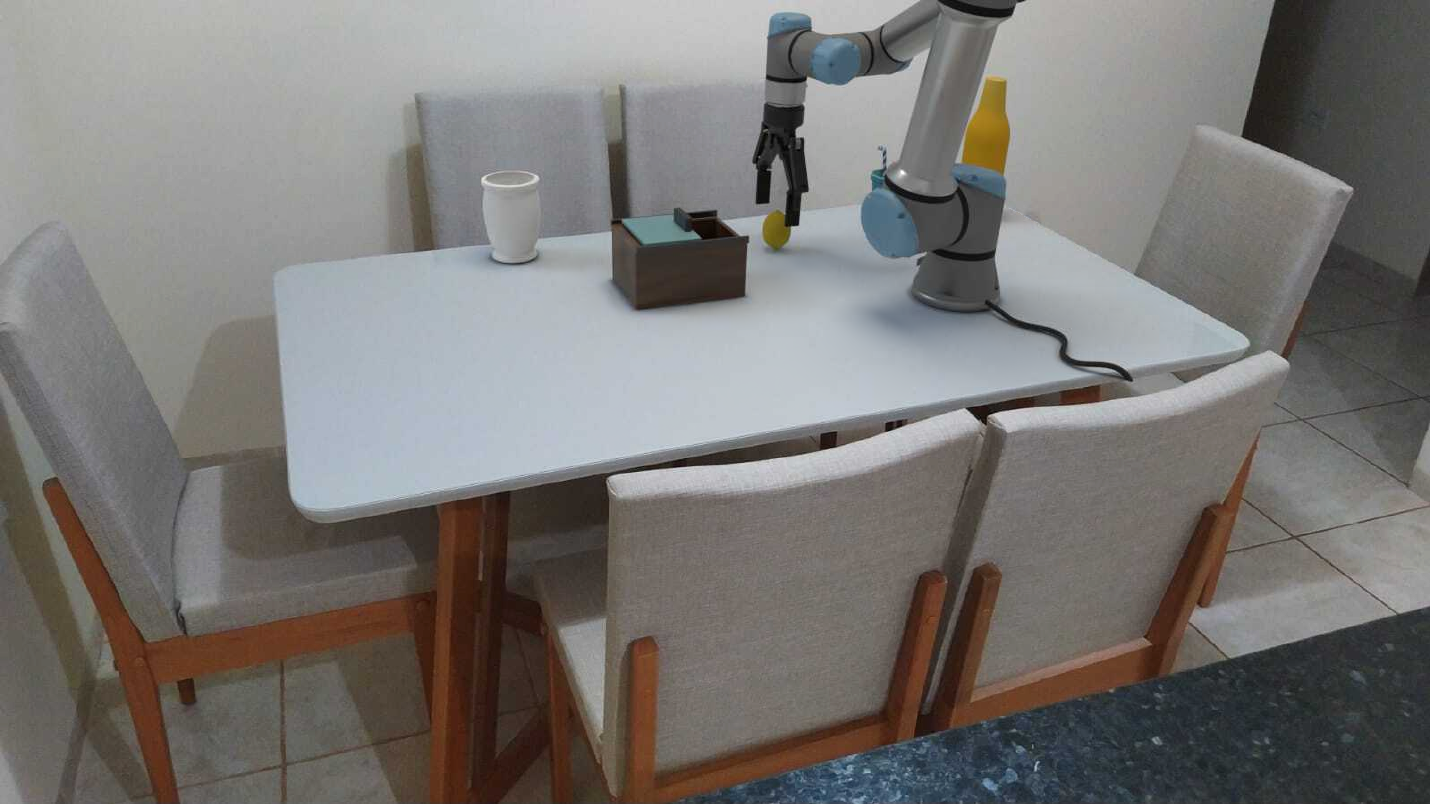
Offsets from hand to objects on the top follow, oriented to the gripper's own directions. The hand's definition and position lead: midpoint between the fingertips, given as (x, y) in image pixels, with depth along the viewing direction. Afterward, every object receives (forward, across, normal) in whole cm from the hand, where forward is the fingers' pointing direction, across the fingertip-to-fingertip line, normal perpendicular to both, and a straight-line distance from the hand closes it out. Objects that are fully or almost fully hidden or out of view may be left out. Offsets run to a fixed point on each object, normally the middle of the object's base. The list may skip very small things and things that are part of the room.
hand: (776, 214), depth 202 cm
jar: (+8, +11, +49) cm, 51 cm away
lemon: (+7, 0, 0) cm, 7 cm away
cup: (+7, +9, -29) cm, 31 cm away
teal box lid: (-4, -13, +28) cm, 31 cm away
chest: (+7, -13, +25) cm, 29 cm away
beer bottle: (+7, +7, -51) cm, 52 cm away
